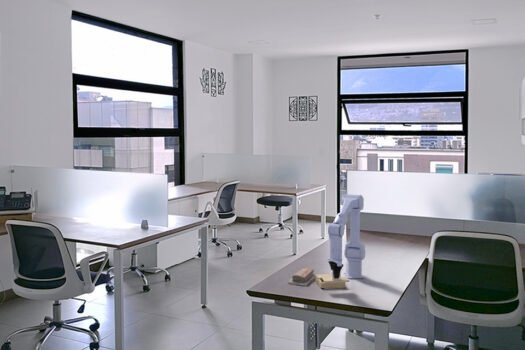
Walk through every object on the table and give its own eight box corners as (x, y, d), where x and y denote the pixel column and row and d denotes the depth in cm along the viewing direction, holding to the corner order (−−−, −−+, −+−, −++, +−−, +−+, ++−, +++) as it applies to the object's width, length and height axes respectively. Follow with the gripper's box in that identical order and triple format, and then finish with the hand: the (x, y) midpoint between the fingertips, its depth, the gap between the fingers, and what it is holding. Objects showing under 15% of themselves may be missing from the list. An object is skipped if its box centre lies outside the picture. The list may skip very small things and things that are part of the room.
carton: (315, 281, 255) (315, 274, 255) (338, 280, 256) (338, 273, 256) (320, 288, 243) (320, 281, 243) (345, 287, 245) (345, 280, 244)
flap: (322, 279, 241) (322, 269, 241) (345, 278, 242) (346, 268, 242) (324, 282, 236) (325, 272, 235) (349, 281, 237) (349, 271, 236)
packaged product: (299, 265, 268) (317, 268, 264) (299, 274, 268) (317, 277, 264) (287, 274, 251) (306, 277, 247) (287, 284, 252) (306, 286, 248)
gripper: (324, 245, 244) (323, 273, 246) (331, 253, 230) (331, 282, 231) (338, 245, 245) (337, 272, 246) (346, 252, 231) (346, 281, 232)
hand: (335, 277), depth 239 cm, fingers closed on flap, 3 cm apart
